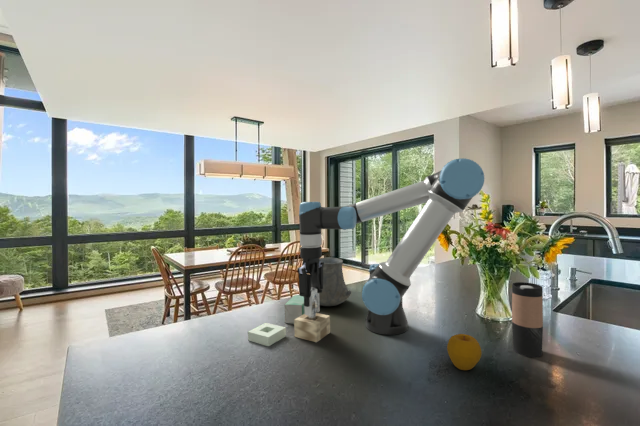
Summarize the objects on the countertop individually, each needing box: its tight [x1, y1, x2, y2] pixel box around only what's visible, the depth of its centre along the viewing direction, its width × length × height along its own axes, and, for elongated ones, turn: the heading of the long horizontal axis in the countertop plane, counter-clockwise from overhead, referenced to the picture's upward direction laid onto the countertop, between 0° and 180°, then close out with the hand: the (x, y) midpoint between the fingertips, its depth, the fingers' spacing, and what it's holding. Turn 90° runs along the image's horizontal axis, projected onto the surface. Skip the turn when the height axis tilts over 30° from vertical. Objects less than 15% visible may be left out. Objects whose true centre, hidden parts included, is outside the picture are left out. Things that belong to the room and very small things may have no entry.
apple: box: [446, 333, 483, 371], centre depth 84 cm, size 8×8×9 cm
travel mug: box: [511, 281, 544, 358], centre depth 92 cm, size 8×8×20 cm
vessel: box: [311, 257, 352, 307], centre depth 141 cm, size 22×22×20 cm
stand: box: [247, 322, 287, 347], centre depth 105 cm, size 9×9×3 cm
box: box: [284, 294, 305, 325], centre depth 124 cm, size 7×14×8 cm, turn 167°
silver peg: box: [308, 288, 318, 321], centre depth 107 cm, size 4×4×14 cm
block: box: [293, 312, 331, 343], centre depth 107 cm, size 9×9×6 cm
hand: (312, 312), depth 107 cm, fingers closed on silver peg, 4 cm apart
